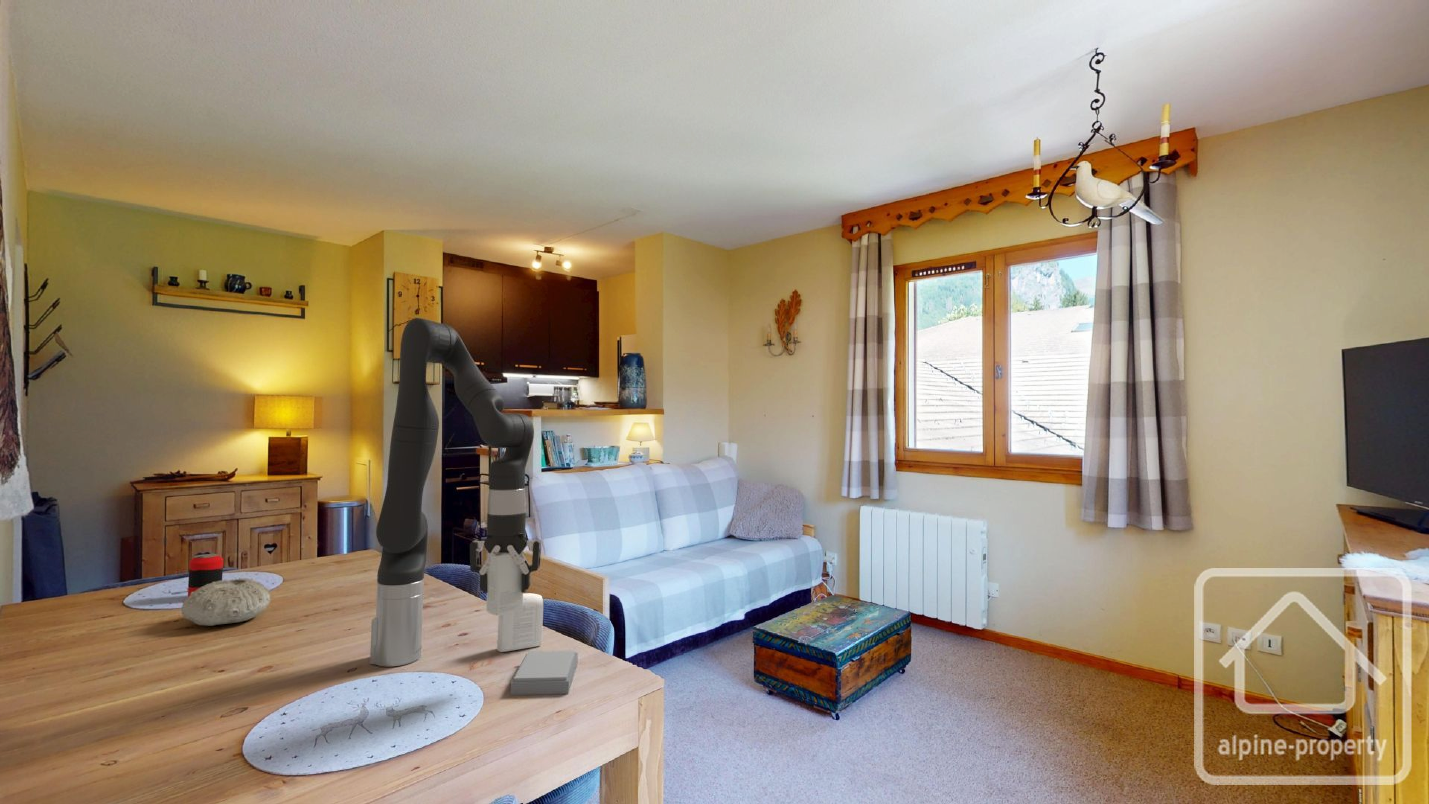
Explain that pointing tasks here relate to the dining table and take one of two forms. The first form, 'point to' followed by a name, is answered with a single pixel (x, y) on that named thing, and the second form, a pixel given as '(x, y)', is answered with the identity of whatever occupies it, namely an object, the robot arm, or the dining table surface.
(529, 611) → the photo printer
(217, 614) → the decorative shell
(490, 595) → the skincare box
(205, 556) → the soda can
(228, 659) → the dining table surface
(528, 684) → the slate stand
